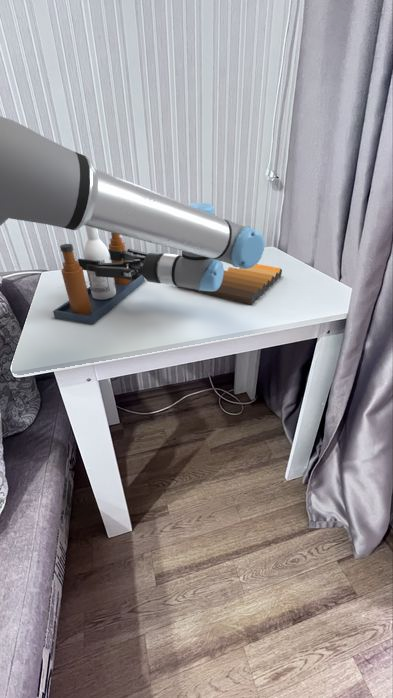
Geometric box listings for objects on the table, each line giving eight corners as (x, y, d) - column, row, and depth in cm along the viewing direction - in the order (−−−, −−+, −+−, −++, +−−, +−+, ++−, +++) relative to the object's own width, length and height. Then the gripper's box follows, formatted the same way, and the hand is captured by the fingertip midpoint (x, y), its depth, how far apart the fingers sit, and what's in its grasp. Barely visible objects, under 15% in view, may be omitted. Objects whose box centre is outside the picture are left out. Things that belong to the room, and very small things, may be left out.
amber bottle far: (118, 286, 101) (108, 226, 91) (112, 281, 104) (102, 223, 94) (132, 282, 103) (125, 224, 93) (127, 277, 106) (119, 221, 96)
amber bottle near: (75, 318, 83) (57, 249, 73) (70, 311, 87) (52, 244, 77) (94, 313, 85) (79, 246, 75) (88, 306, 89) (74, 241, 79)
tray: (92, 324, 82) (90, 317, 81) (54, 318, 85) (52, 311, 84) (144, 280, 105) (144, 274, 104) (113, 277, 108) (112, 271, 107)
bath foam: (103, 289, 99) (90, 220, 87) (121, 293, 96) (110, 223, 85) (87, 298, 94) (71, 226, 82) (105, 302, 91) (91, 229, 80)
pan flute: (176, 287, 100) (250, 305, 89) (176, 277, 98) (251, 294, 87) (215, 263, 118) (281, 276, 107) (215, 254, 116) (282, 266, 105)
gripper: (142, 299, 76) (67, 285, 83) (181, 269, 92) (115, 259, 100) (138, 268, 72) (60, 256, 79) (180, 242, 88) (111, 234, 95)
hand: (91, 258), depth 89 cm, fingers open, 9 cm apart
